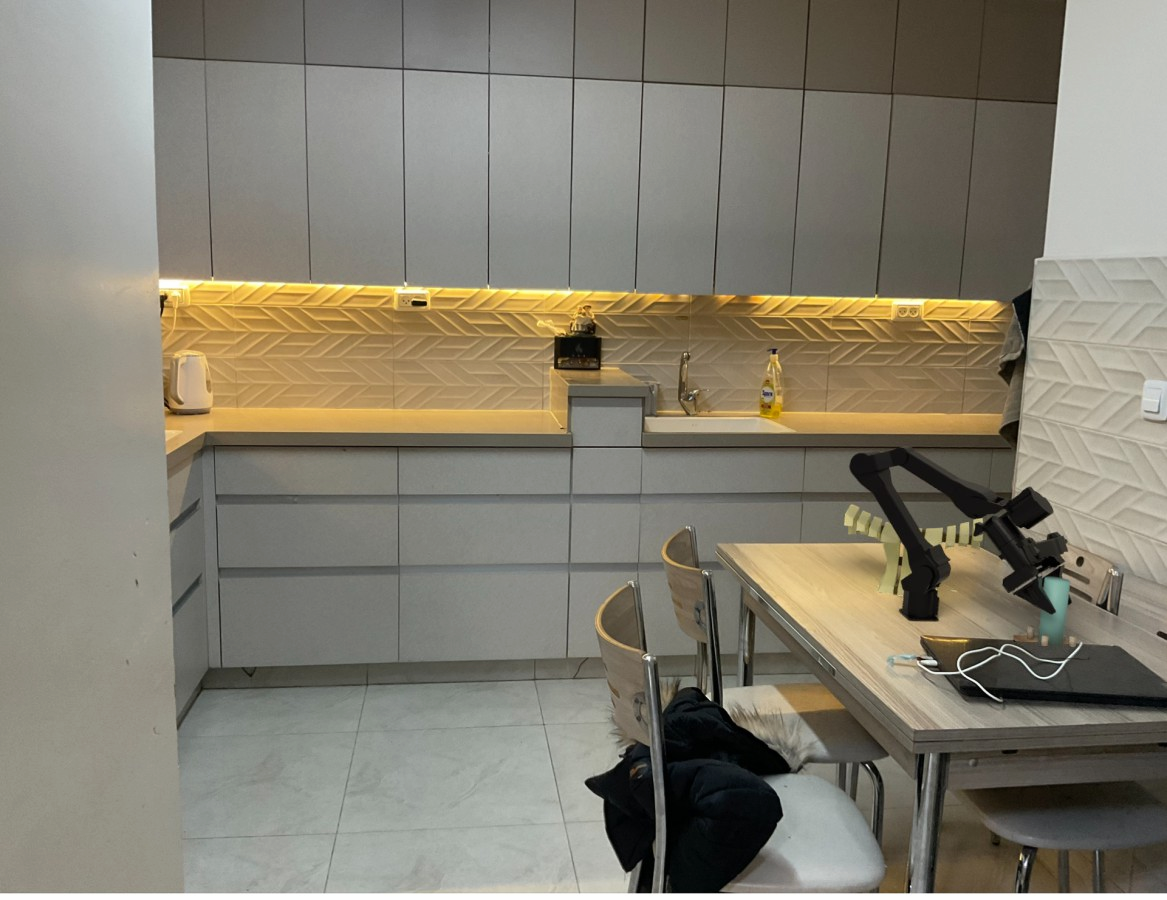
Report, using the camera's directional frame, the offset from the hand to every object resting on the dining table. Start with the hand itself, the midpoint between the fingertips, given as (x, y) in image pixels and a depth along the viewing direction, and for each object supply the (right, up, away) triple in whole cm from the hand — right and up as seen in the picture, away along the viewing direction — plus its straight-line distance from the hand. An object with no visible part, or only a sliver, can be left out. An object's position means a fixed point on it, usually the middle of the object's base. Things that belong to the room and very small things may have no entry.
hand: (1062, 608), depth 190 cm
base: (-1, -9, +2) cm, 9 cm away
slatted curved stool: (-16, -2, +42) cm, 45 cm away
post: (-1, -7, +2) cm, 8 cm away
